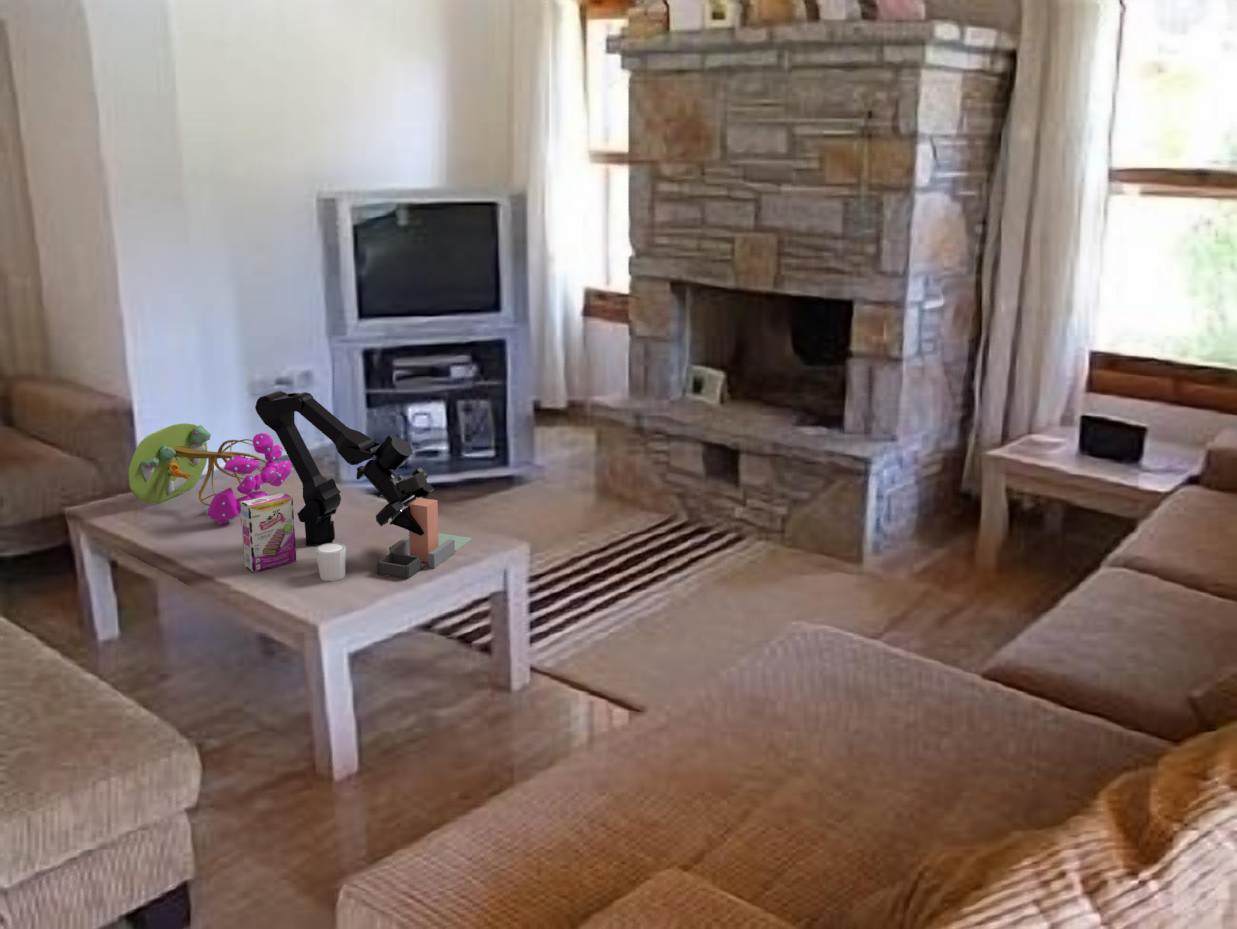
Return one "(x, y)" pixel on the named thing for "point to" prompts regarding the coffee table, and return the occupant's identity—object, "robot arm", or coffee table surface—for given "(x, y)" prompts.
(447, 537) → the sage mat
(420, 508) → the salmon-pink block
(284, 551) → the candy bar box
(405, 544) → the grey parallel walls
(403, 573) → the dark grey open box
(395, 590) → the coffee table surface
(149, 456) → the lily pad toy
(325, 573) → the white cup
